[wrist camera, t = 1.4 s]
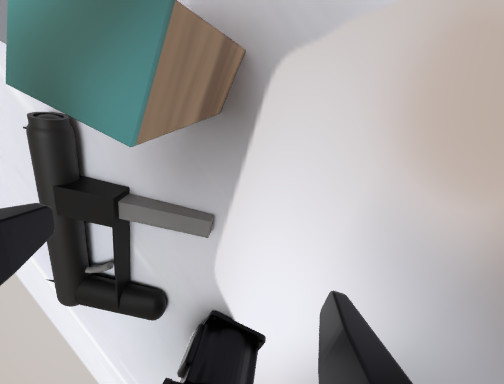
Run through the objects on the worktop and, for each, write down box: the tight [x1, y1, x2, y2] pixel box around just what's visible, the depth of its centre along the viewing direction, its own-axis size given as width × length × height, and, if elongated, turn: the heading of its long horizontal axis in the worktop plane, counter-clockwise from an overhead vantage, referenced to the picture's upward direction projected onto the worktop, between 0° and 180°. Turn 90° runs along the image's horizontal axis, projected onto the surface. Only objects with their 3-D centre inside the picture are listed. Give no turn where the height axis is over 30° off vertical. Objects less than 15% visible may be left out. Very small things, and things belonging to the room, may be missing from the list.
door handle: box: [23, 112, 214, 320], centre depth 23 cm, size 3×20×16 cm
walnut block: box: [6, 0, 245, 147], centre depth 12 cm, size 4×4×11 cm
